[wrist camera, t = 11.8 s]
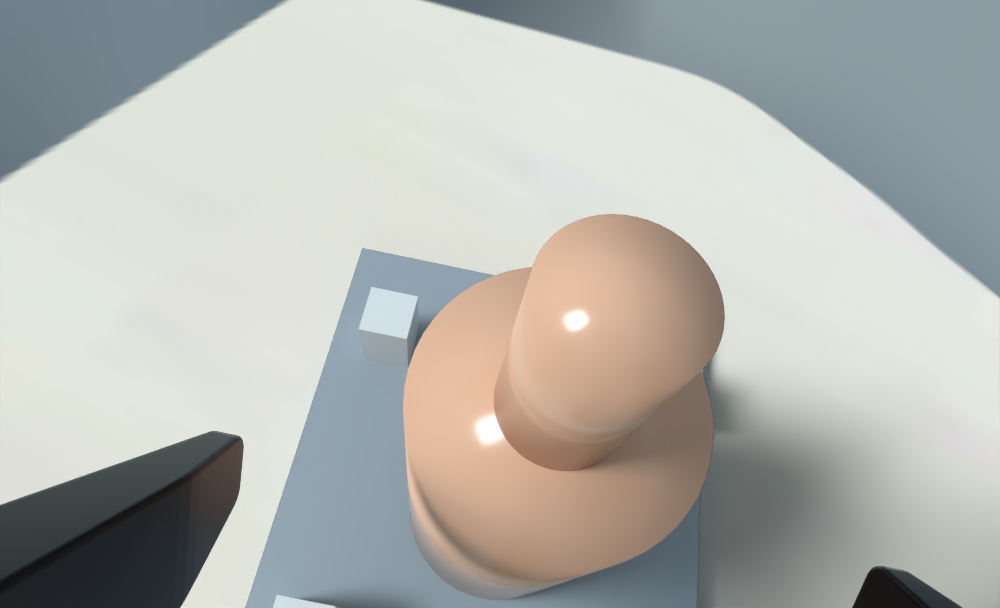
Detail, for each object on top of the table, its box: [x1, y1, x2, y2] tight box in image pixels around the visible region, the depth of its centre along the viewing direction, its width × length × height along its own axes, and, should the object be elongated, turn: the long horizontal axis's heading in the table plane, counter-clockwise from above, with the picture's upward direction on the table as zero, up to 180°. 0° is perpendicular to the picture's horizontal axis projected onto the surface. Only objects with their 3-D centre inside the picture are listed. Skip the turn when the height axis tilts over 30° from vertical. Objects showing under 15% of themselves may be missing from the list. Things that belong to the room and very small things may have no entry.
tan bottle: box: [403, 214, 725, 600], centre depth 14 cm, size 6×6×14 cm
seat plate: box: [245, 248, 703, 608], centre depth 19 cm, size 16×13×3 cm
